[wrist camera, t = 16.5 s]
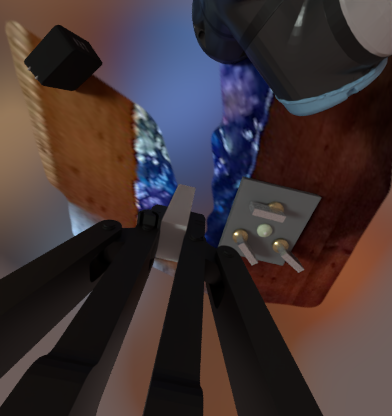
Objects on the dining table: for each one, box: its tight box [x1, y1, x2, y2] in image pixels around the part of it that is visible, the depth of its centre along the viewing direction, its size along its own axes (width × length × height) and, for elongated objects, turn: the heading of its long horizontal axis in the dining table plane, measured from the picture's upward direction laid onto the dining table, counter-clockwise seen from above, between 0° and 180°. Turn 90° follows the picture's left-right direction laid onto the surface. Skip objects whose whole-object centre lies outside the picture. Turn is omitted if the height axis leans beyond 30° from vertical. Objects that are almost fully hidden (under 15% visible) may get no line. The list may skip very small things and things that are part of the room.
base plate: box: [218, 177, 321, 265], centre depth 55 cm, size 24×21×3 cm
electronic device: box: [24, 25, 102, 91], centre depth 38 cm, size 4×10×10 cm, turn 122°
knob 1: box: [232, 229, 258, 265], centre depth 54 cm, size 9×4×6 cm, turn 34°
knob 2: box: [249, 201, 286, 223], centre depth 49 cm, size 9×4×6 cm, turn 76°
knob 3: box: [272, 238, 304, 273], centre depth 55 cm, size 9×4×6 cm, turn 47°
